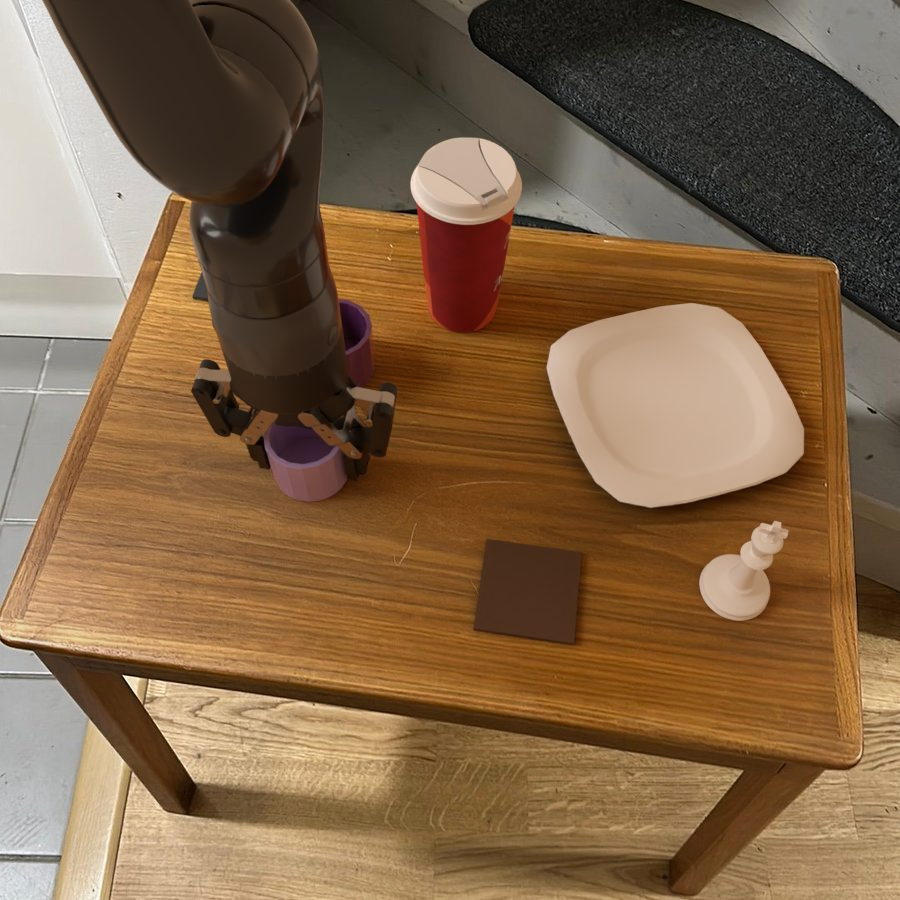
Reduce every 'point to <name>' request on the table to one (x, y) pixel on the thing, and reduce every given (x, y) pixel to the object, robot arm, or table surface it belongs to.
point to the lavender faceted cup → (304, 463)
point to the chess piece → (742, 575)
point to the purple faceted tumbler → (357, 341)
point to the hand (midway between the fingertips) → (311, 464)
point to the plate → (673, 405)
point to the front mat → (528, 592)
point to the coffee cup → (464, 228)
